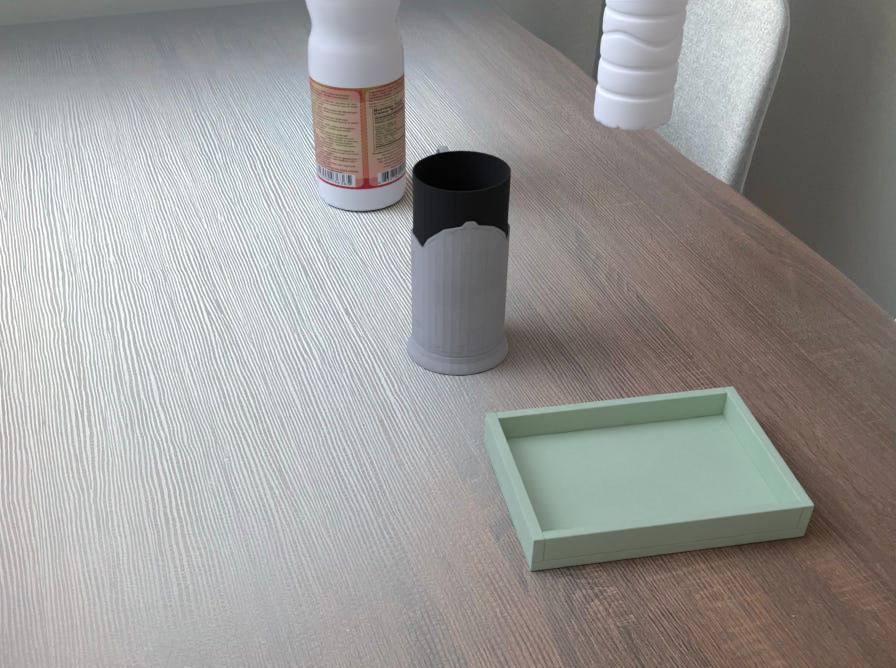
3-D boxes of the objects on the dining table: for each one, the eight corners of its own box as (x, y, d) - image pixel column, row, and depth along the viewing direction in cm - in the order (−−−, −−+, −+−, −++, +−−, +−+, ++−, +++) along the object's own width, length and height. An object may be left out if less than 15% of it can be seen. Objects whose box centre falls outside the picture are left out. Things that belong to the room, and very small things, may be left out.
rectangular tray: (725, 416, 81) (733, 385, 79) (804, 536, 71) (815, 505, 69) (483, 443, 79) (485, 413, 77) (530, 571, 69) (533, 540, 67)
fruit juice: (317, 215, 106) (291, -116, 85) (318, 176, 112) (294, -140, 92) (408, 212, 106) (403, -118, 86) (404, 173, 113) (399, -142, 92)
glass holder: (415, 379, 85) (413, 199, 74) (391, 295, 95) (386, 124, 84) (518, 369, 86) (531, 190, 75) (484, 286, 95) (491, 117, 84)
